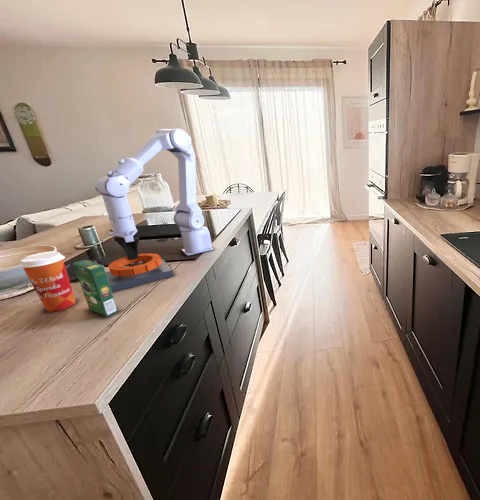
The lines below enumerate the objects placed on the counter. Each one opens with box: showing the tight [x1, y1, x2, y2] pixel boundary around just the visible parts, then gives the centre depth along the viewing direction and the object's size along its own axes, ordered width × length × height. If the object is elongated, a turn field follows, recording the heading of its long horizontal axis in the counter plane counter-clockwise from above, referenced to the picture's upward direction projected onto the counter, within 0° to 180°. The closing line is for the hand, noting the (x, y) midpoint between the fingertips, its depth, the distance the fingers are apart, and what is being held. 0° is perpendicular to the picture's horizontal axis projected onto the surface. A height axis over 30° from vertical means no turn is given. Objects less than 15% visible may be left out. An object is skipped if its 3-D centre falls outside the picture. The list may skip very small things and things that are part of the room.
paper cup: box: [19, 250, 76, 312], centre depth 72 cm, size 8×8×14 cm
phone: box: [65, 259, 98, 283], centre depth 93 cm, size 8×1×15 cm
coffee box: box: [72, 259, 118, 318], centre depth 70 cm, size 8×3×13 cm, turn 65°
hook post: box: [129, 261, 145, 267], centre depth 99 cm, size 4×4×7 cm
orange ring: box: [107, 252, 163, 276], centre depth 89 cm, size 13×13×2 cm
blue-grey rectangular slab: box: [106, 259, 174, 293], centre depth 90 cm, size 16×12×2 cm
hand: (133, 257), depth 92 cm, fingers closed on orange ring, 2 cm apart
